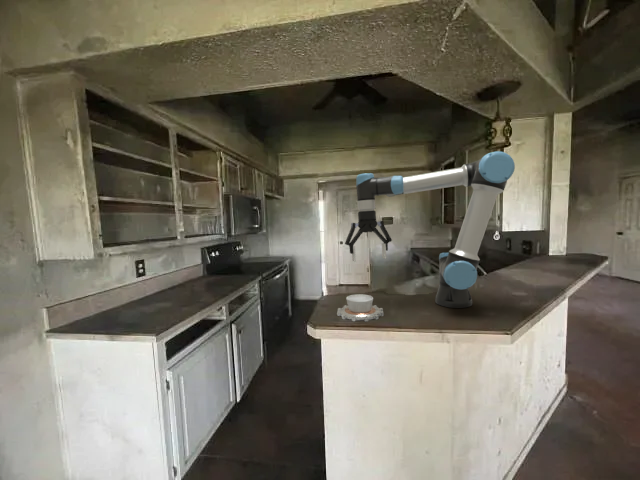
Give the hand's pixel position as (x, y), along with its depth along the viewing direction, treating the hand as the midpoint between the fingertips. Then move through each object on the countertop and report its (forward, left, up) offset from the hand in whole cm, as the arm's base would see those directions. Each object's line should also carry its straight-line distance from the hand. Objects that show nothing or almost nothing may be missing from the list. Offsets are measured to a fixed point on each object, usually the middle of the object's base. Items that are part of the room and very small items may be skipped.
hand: (369, 259), depth 137 cm
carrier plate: (+6, +5, -22) cm, 23 cm away
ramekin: (+6, +5, -20) cm, 22 cm away
